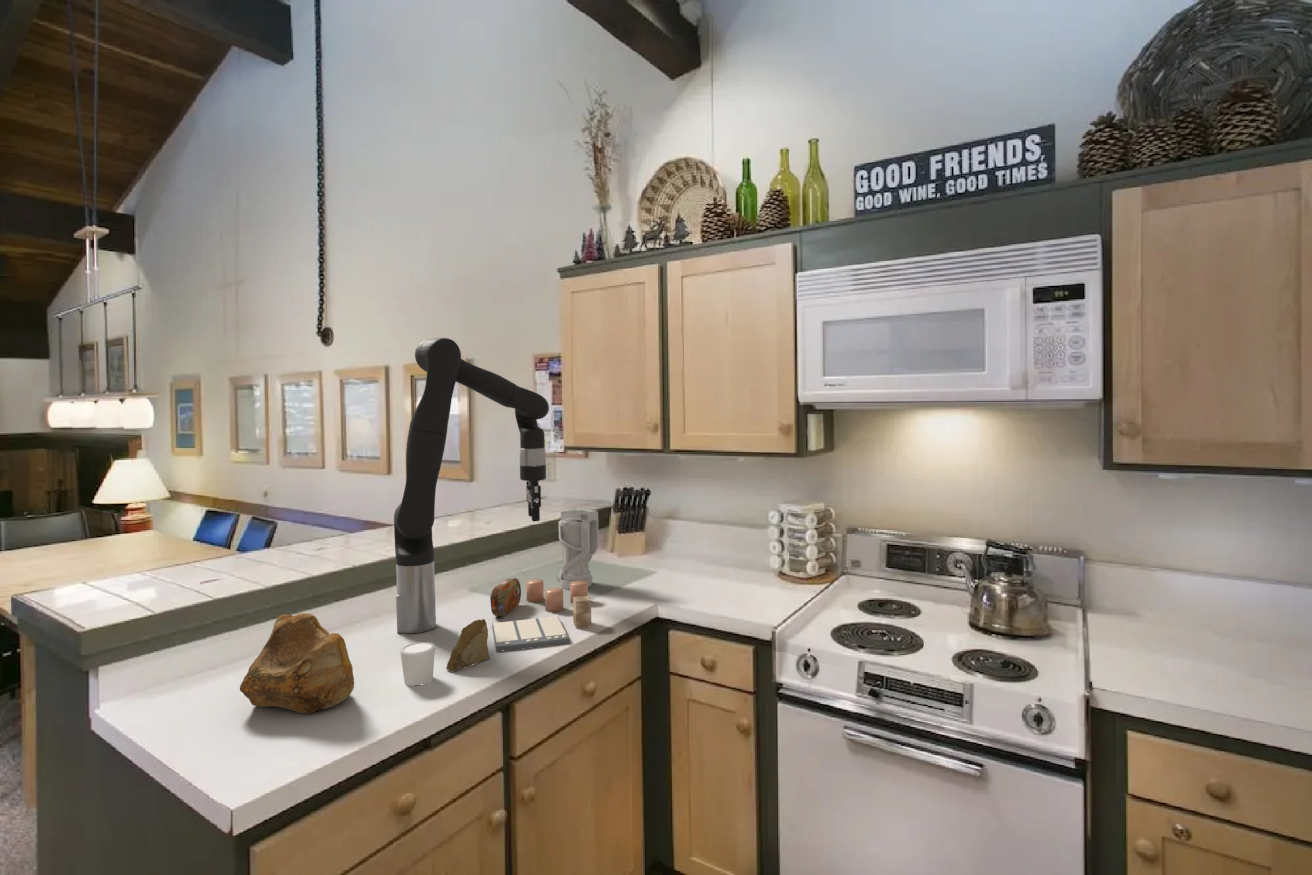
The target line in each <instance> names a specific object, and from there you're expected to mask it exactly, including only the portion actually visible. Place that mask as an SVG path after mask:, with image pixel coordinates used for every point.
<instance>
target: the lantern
mask: <svg viewBox="0 0 1312 875" xmlns="http://www.w3.org/2000/svg"><path fill="white" fill-rule="evenodd" d="M560 518H561V519H560V520H559V521H558V539H559V543H560V546H562V567H561V568H560V569H559V574H558V575H559V576H558V577H556V581H557V582H558V583H560V588H561V589H564V588H565V590H570V583H571V582H574V581H586V582H588V588H590V587H592V583H593V575H591V570H590V569H589V566H590V565H589V564H590V562H591V560H592V559H593V555H595V554H596V552H597V551H598V549H599V545H600V544H599V541H600V540H599V538H600V537H599V512H598V508H597V507H593V508H592V507H582V508H575V509H568V510H564V511H563V510H562V511H560ZM589 586H590V587H589Z"/></svg>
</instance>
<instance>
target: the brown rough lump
mask: <svg viewBox="0 0 1312 875" xmlns="http://www.w3.org/2000/svg"><path fill="white" fill-rule="evenodd" d="M351 662H352V661H351V659H350V658H349V652H348V648H347V644H346V641H345V639H344V637H342V636H341V635H340V634H339V633H338V632H337V633H336V632H333V633H330V632H329V631H328V630H327V629H325V627H323V626H322V625H321V624H320V622H319V619H318V618H317V617H316V615H313V614H312V613H306V612H304V613H298V614H295V615H292V614H282V615H279V616H278V617H277V618H276V619H275V622H274V623H273V628H272V631H271V633H270V635H269V637H268V640H267V642H266V643H265V645H264V646H263V647H262V650H261V652H260V653H259V654H258V656H257V657H256V658H255V659H254V660H253V662H252V663H251V665H250V666H249V668H248V671H247V673H246V674H245V675H244V678H243V680H242V682H241V683H240V685H239V691H240V692H241V693H243V695H244V697H246V698H247V699H248V700H249V702H250V704H251V705H252V706H253V707H254V706H255V707H260V708H267V707H280V708H283V709H287V710H290V711H293V712H295V713H296V712H297V713H299V714H300V713H301V714H305V713H308V715H312V714H314V713H315V712H316V711H318V710H327V709H329V708H331V707H334V706H336V705H338V704H341V703H342V702H343V701H345V700H346V698H348V697H349V696H350V695H351V694H352V692H353V690H354V689H355V677H354V673H353V672H354V671H353V664H352V663H351Z"/></svg>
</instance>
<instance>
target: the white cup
mask: <svg viewBox="0 0 1312 875" xmlns="http://www.w3.org/2000/svg"><path fill="white" fill-rule="evenodd" d="M399 652H400V658H401V667H402V673H403V680H404V684H405V685H406V684H407V685H406V686H408V685H412V686H411V687H416V686H415V685H421V684H425V685H427V684H429V683H431V682H432V681H433V679H434V670H435V669H434V668H435V667H434V666H435V652H436V645H435V644H434V643H433V642H428V641H427V642H426V641H421V642H414V643H409V644H407V645H404V646H403V647H401V648H400V651H399ZM431 680H432V681H431ZM430 681H431V682H430ZM421 686H422V685H421Z"/></svg>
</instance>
